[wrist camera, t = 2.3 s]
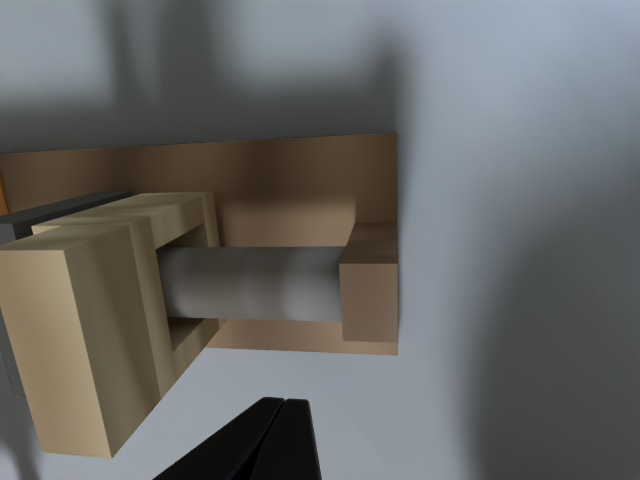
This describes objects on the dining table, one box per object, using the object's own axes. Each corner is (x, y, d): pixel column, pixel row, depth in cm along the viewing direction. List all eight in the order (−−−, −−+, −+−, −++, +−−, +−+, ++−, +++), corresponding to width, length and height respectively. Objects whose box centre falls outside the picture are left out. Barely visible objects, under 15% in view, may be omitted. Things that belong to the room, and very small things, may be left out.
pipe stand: (395, 132, 16) (397, 139, 10) (397, 340, 19) (398, 438, 13) (-86, 158, 20) (-274, 172, 15) (-33, 325, 23) (-177, 395, 17)
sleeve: (212, 191, 16) (63, 250, 9) (229, 318, 18) (111, 458, 10) (142, 193, 17) (-54, 250, 9) (163, 316, 18) (8, 448, 11)
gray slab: (132, 190, 17) (11, 223, 12) (154, 317, 18) (57, 397, 13) (97, 192, 17) (-36, 224, 12) (122, 316, 19) (13, 394, 13)
